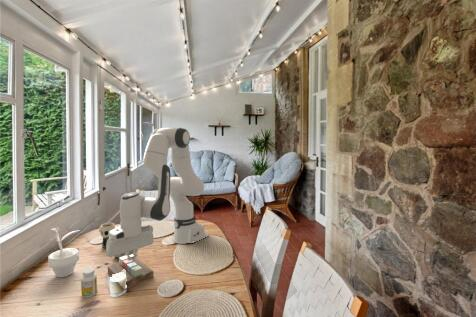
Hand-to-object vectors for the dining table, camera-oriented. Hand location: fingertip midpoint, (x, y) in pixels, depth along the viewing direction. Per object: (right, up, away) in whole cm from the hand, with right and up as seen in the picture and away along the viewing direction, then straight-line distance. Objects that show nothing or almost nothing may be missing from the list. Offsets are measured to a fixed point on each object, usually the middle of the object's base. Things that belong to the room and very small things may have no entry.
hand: (131, 259), depth 113 cm
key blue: (0, -6, +1) cm, 6 cm away
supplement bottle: (-12, -9, -12) cm, 19 cm away
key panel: (-2, -8, +3) cm, 9 cm away
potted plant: (-31, -8, +3) cm, 32 cm away
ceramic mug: (-12, -7, +20) cm, 24 cm away
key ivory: (-6, -5, +7) cm, 11 cm away
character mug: (-27, -6, +32) cm, 42 cm away
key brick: (-3, -5, +4) cm, 7 cm away
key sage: (+3, -6, -2) cm, 7 cm away
